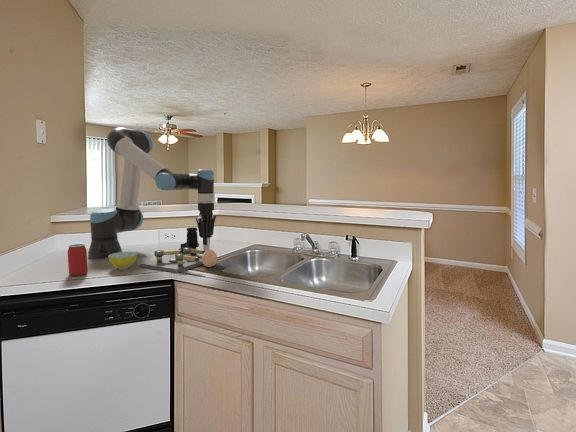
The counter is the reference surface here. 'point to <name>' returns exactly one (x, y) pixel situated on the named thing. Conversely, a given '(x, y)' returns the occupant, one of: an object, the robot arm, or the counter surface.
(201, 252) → the knob
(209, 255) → the egg
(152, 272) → the counter surface
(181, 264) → the knob
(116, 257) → the bowl
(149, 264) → the base
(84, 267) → the beer can
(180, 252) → the knob near
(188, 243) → the scope
